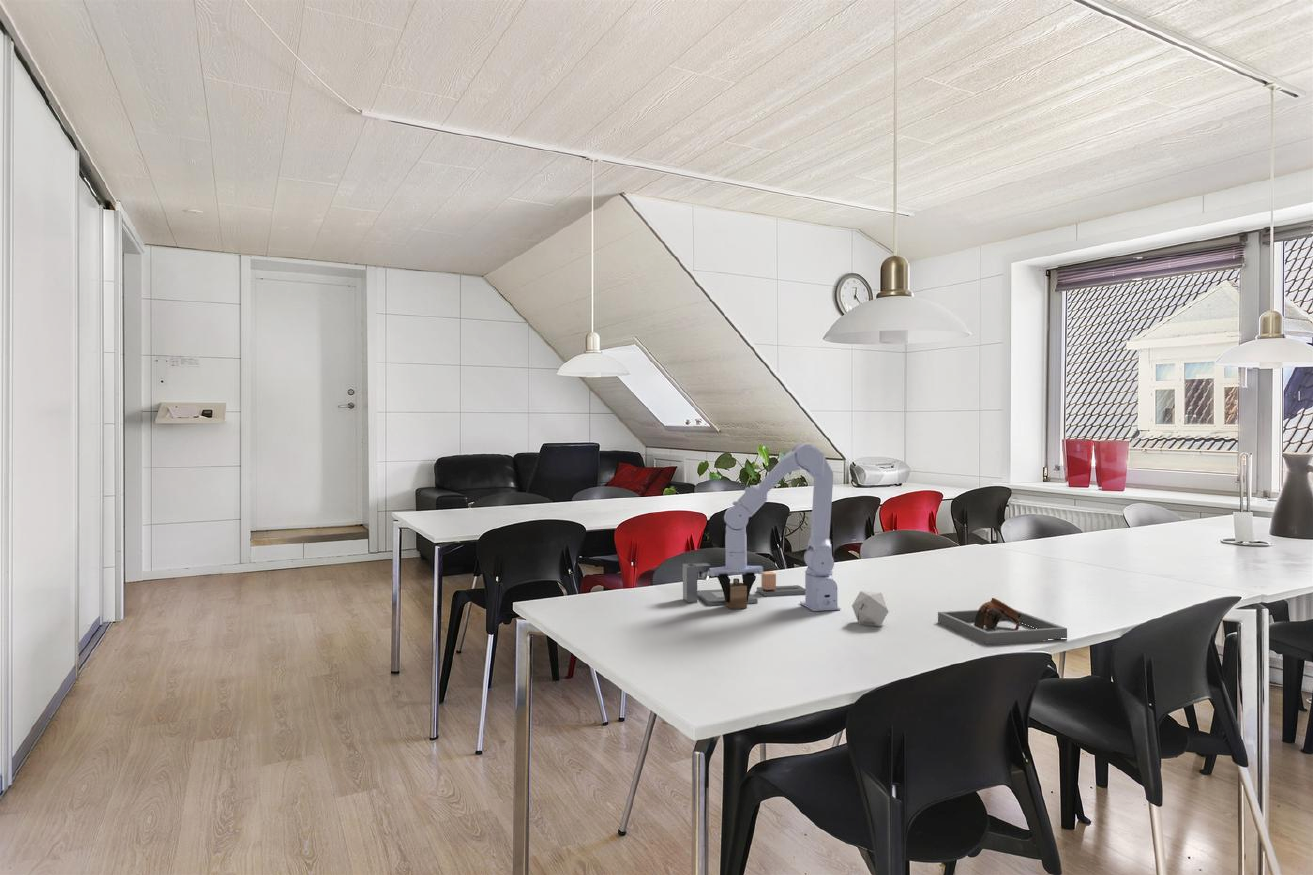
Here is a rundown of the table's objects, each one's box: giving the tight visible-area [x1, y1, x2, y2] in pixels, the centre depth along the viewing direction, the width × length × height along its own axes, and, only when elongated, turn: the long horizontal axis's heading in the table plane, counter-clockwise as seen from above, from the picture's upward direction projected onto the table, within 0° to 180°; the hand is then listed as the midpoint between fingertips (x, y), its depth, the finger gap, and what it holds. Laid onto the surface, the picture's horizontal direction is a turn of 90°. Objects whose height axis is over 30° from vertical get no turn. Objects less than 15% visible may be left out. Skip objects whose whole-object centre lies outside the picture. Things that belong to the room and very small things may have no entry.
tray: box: [937, 608, 1068, 646], centre depth 180 cm, size 20×20×2 cm
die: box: [851, 590, 889, 627], centre depth 187 cm, size 8×9×10 cm
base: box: [756, 584, 805, 597], centre depth 223 cm, size 7×13×1 cm, turn 101°
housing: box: [725, 578, 748, 610], centre depth 205 cm, size 4×4×8 cm
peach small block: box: [760, 571, 777, 590], centre depth 222 cm, size 4×3×4 cm
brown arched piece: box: [973, 597, 1021, 631], centre depth 181 cm, size 12×10×8 cm
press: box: [682, 562, 759, 607], centre depth 215 cm, size 14×19×10 cm
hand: (736, 601), depth 205 cm, fingers closed on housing, 4 cm apart
